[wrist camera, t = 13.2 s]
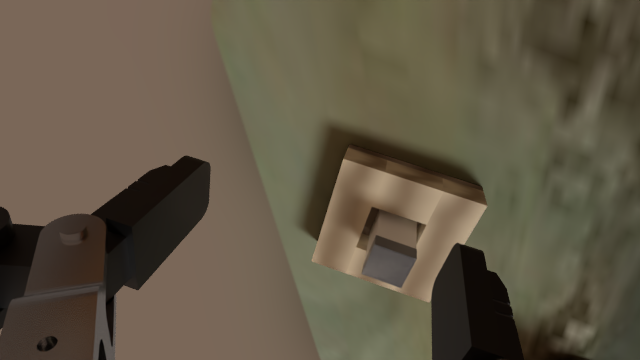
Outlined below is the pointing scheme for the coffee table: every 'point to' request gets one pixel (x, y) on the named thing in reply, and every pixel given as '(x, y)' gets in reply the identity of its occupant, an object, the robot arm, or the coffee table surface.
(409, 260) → the connector plug
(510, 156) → the coffee table surface
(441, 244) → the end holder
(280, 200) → the coffee table surface
